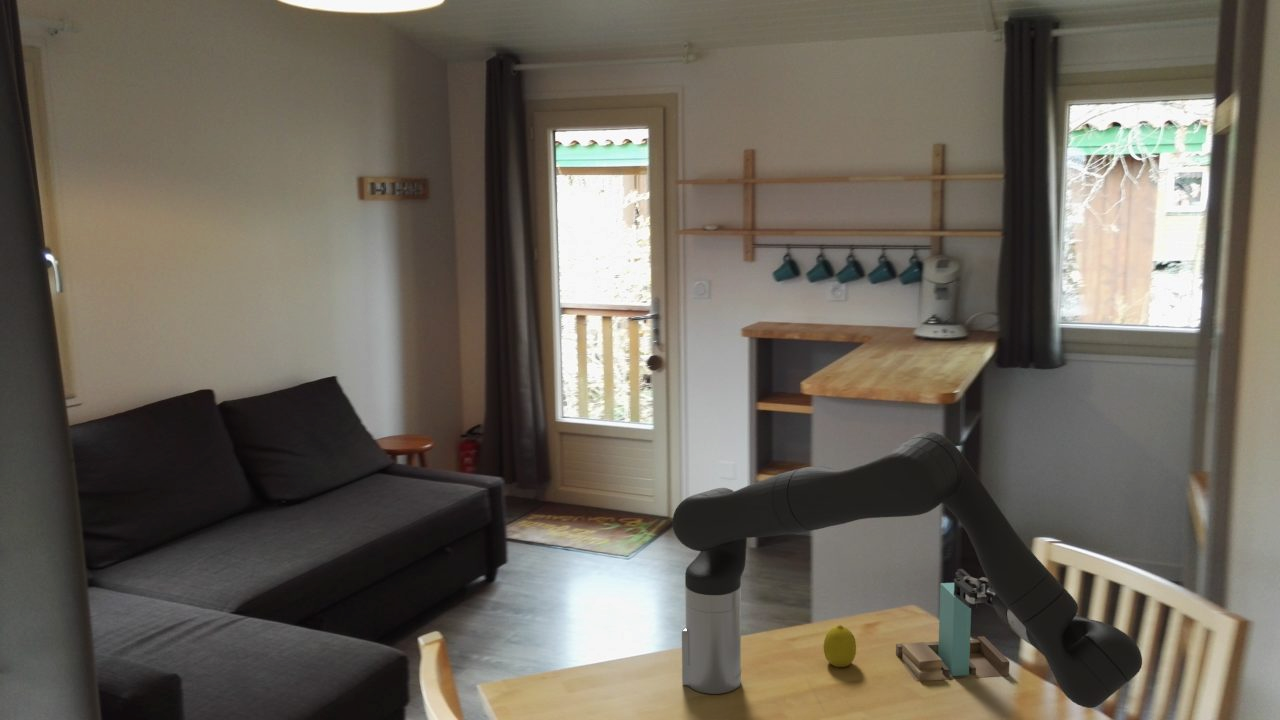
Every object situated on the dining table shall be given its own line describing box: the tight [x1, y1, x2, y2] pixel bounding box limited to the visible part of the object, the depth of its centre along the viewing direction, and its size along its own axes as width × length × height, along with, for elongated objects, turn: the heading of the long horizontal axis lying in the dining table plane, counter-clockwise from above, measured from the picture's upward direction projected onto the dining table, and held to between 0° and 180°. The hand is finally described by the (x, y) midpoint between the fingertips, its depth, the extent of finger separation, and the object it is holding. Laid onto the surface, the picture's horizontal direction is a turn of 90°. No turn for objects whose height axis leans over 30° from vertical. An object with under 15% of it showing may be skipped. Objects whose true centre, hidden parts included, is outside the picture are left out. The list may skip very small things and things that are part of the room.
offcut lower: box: [902, 654, 943, 682], centre depth 171 cm, size 4×8×2 cm, turn 5°
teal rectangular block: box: [938, 582, 972, 676], centre depth 171 cm, size 3×6×14 cm, turn 5°
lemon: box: [823, 624, 857, 668], centre depth 174 cm, size 6×6×8 cm
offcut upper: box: [901, 641, 942, 670], centre depth 171 cm, size 4×7×2 cm, turn 9°
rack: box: [895, 635, 1010, 682], centre depth 173 cm, size 16×10×4 cm, turn 95°
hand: (985, 573), depth 158 cm, fingers open, 8 cm apart
